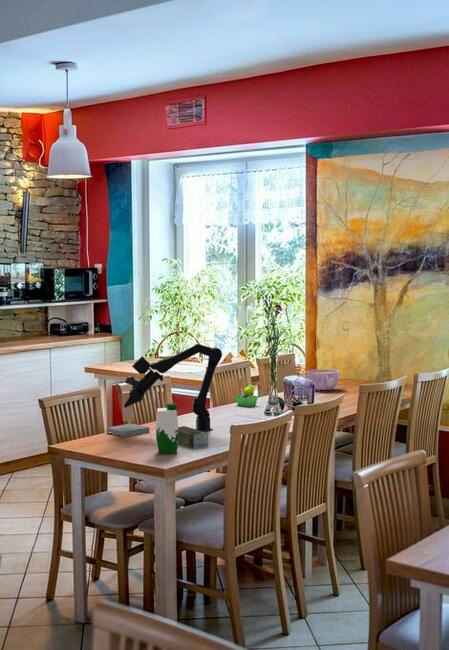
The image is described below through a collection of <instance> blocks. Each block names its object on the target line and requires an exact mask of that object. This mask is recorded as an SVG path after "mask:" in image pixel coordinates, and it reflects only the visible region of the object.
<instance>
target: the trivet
mask: <svg viewBox="0 0 449 650" xmlns="http://www.w3.org/2000/svg"><path fill="white" fill-rule="evenodd" d="M150 431H151V430H150V426H145V425H140V424H135V423H126V424H120V425H116V426H110V427H106V434H109V432H111V433H113V434H112V435H114V434H116V435H115V436H118V435H119V436H120V437H123V436H124V437H123V438H127V437H133V436H138V435H144V434H147V433H148V434H149V433H150Z"/></svg>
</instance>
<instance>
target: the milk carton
mask: <svg viewBox="0 0 449 650" xmlns="http://www.w3.org/2000/svg"><path fill="white" fill-rule="evenodd" d="M177 406H178V405H177V403H173V402H171V403H166V407H161V408H160V407H158V408H156V417H155V418H156V419H155V436H156V437H155V438H156V446H157V450H158V453H159V454H158V455H177V454H178V446H179V444H178V427H179V420H178V407H177Z"/></svg>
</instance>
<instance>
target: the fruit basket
mask: <svg viewBox="0 0 449 650" xmlns="http://www.w3.org/2000/svg"><path fill="white" fill-rule="evenodd" d="M243 392H244V393H241V394H240V395H235V396H234V398H235V400H236V403H237V406H239V405H241V406H242V407H246V406H252V407H254V406H253V405H257V401H258V398H259V396H256V395H254V394H255V386H254V385H253V384H248V385H247V386H246V387H245V388H244V389H243ZM241 406H240V407H241Z"/></svg>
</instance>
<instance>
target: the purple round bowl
mask: <svg viewBox="0 0 449 650" xmlns="http://www.w3.org/2000/svg"><path fill="white" fill-rule="evenodd" d="M340 373H341V371H340V370H338V369H329V368H328V369H326V368H325V369H323V368H322V369H321V368H320V369H309V370H307V371H306V375H307V379H308V378H309V379H311V380H312V381H313V382H314V383H315V390H316V391H317V390H329V389H330V390H333V389H335V388H336V387H337V385H338V382H339V378H340Z"/></svg>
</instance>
